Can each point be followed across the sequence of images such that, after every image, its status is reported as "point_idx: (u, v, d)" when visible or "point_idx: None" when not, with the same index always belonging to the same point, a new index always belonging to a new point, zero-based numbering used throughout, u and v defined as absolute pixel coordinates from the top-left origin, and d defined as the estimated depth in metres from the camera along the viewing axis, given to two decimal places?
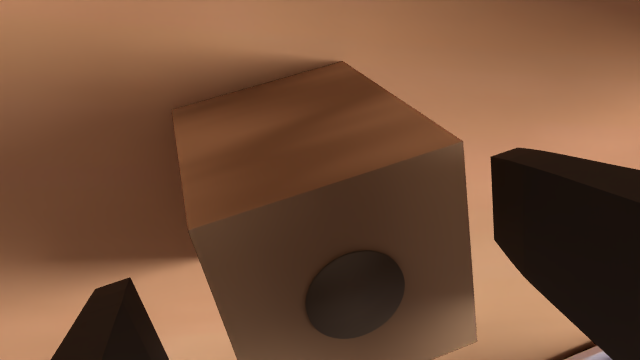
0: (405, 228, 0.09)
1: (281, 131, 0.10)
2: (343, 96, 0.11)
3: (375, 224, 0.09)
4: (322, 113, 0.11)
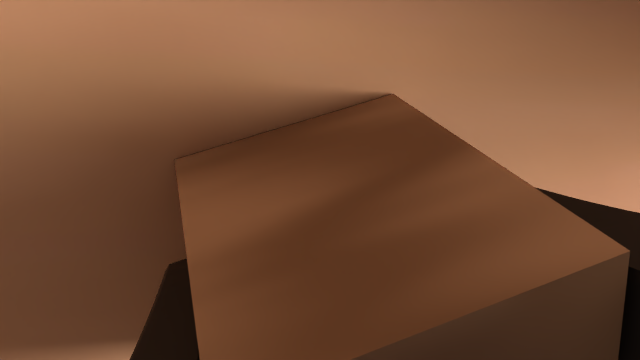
0: None
1: (330, 210, 0.07)
2: (409, 152, 0.08)
3: None
4: (385, 180, 0.08)
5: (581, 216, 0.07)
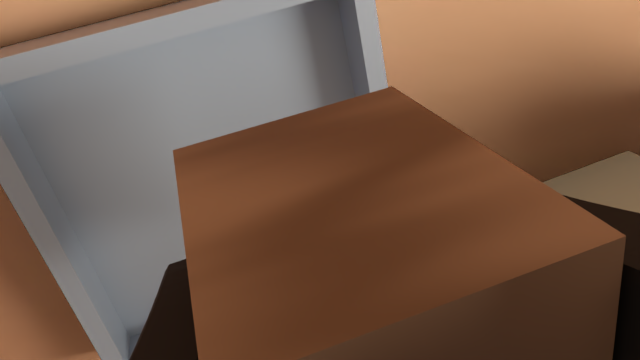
0: (527, 359, 0.06)
1: (328, 197, 0.07)
2: (407, 142, 0.08)
3: None
4: (383, 169, 0.08)
5: None
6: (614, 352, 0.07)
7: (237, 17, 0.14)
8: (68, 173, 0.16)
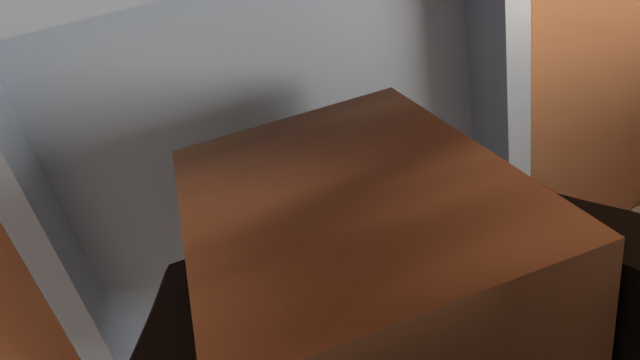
0: None
1: (327, 198, 0.07)
2: (406, 142, 0.08)
3: None
4: (382, 170, 0.08)
5: None
6: (614, 352, 0.07)
7: None
8: (82, 179, 0.11)
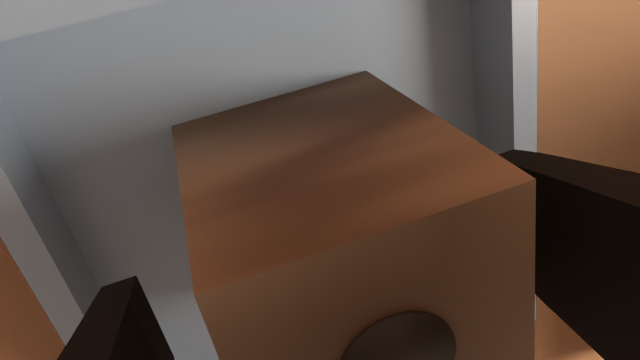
0: (460, 283, 0.07)
1: (302, 158, 0.09)
2: (373, 114, 0.10)
3: (424, 281, 0.07)
4: (350, 136, 0.09)
5: None
6: None
7: None
8: (80, 184, 0.11)
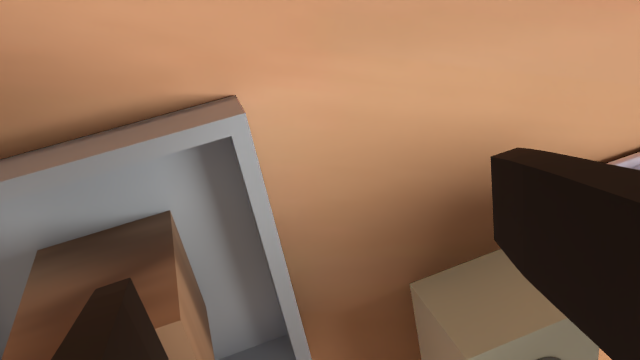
0: None
1: (90, 291, 0.15)
2: (146, 256, 0.16)
3: None
4: (123, 274, 0.15)
5: None
6: None
7: (122, 164, 0.16)
8: None
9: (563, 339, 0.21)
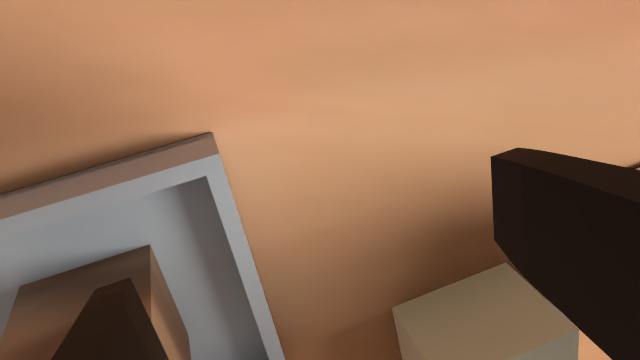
0: None
1: (67, 331, 0.15)
2: None
3: None
4: None
5: None
6: None
7: (99, 205, 0.16)
8: None
9: None
